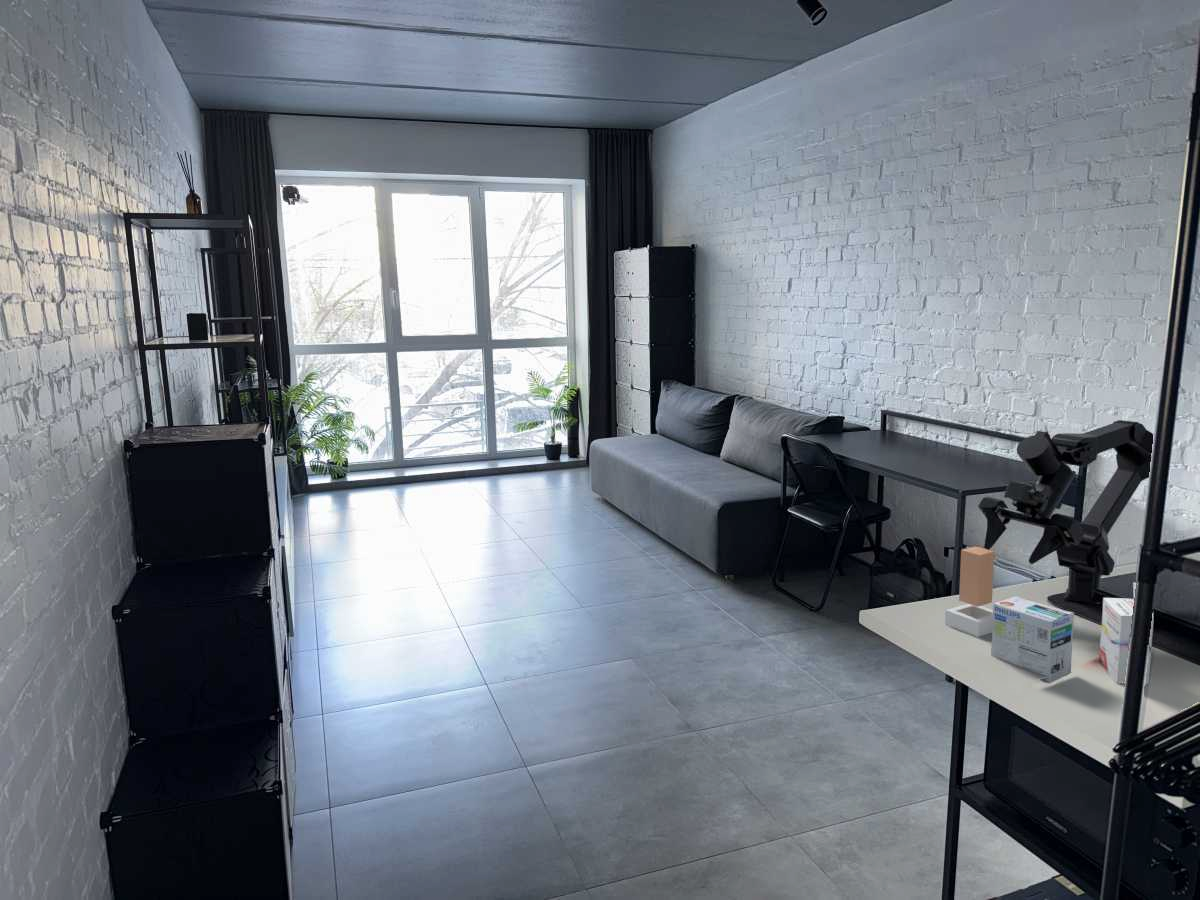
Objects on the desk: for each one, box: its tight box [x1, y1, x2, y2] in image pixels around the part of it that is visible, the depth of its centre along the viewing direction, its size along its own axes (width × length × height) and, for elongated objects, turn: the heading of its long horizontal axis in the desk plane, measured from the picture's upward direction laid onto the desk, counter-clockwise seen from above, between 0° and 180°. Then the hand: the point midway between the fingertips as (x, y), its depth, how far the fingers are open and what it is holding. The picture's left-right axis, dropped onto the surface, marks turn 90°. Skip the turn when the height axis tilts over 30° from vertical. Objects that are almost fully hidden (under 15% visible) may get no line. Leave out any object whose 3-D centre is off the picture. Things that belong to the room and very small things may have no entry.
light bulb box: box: [990, 595, 1075, 684], centre depth 144 cm, size 11×7×11 cm, turn 32°
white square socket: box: [944, 603, 993, 638], centre depth 160 cm, size 7×7×3 cm
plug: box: [958, 546, 996, 607], centre depth 158 cm, size 4×4×10 cm
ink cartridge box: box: [1098, 581, 1155, 686], centre depth 140 cm, size 9×5×15 cm, turn 168°
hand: (1007, 555), depth 162 cm, fingers open, 9 cm apart
